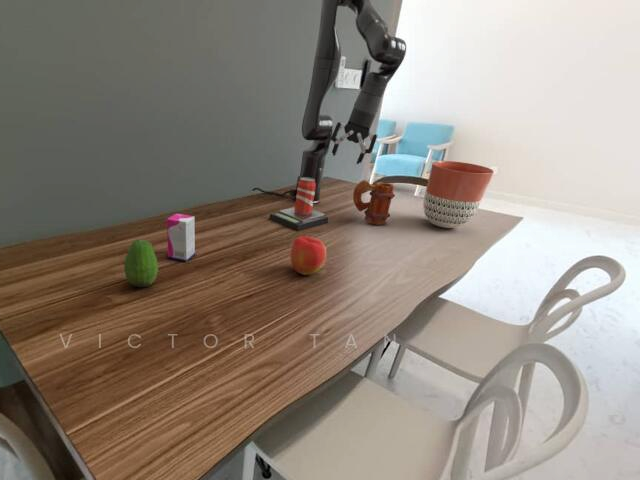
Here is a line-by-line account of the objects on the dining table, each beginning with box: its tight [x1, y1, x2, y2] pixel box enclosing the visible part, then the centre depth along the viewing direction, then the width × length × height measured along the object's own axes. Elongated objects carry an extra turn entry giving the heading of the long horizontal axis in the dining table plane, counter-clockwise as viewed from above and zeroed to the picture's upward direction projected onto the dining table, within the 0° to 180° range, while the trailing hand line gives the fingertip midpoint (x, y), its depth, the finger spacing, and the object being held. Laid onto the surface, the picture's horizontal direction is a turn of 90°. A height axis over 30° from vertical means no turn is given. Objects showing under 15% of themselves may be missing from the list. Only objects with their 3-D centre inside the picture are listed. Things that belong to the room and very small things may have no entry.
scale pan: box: [278, 206, 326, 222], centre depth 143 cm, size 12×12×1 cm
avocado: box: [123, 238, 159, 288], centre depth 93 cm, size 8×8×12 cm
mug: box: [352, 179, 396, 226], centre depth 142 cm, size 15×8×15 cm, turn 84°
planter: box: [422, 160, 495, 229], centre depth 142 cm, size 20×20×21 cm
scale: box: [269, 211, 329, 232], centre depth 143 cm, size 14×16×2 cm
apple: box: [290, 235, 327, 276], centre depth 104 cm, size 10×10×10 cm
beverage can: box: [294, 177, 316, 215], centre depth 139 cm, size 6×6×12 cm
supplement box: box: [166, 213, 196, 263], centre depth 108 cm, size 6×6×12 cm
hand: (345, 159), depth 135 cm, fingers open, 8 cm apart
